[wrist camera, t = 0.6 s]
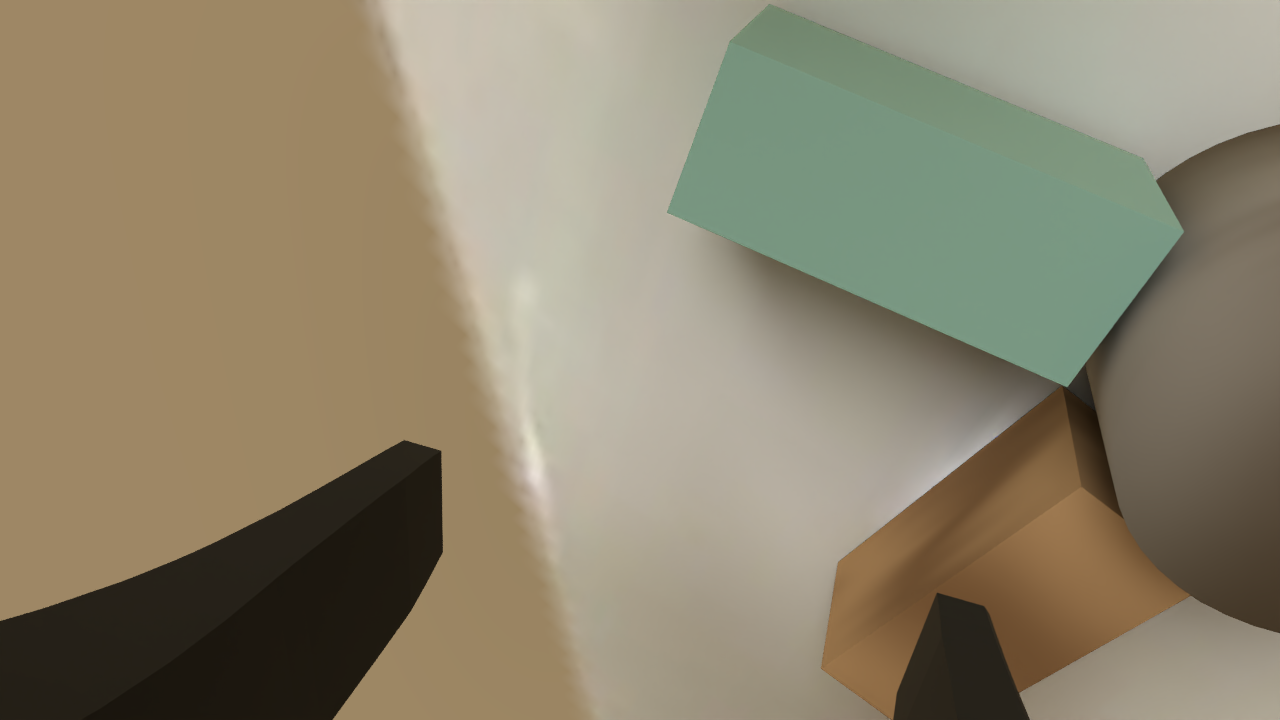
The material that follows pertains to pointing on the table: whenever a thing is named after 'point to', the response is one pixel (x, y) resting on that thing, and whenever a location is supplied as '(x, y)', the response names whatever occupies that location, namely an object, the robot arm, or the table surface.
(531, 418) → the table surface
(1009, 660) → the stool base
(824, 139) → the folding leg
